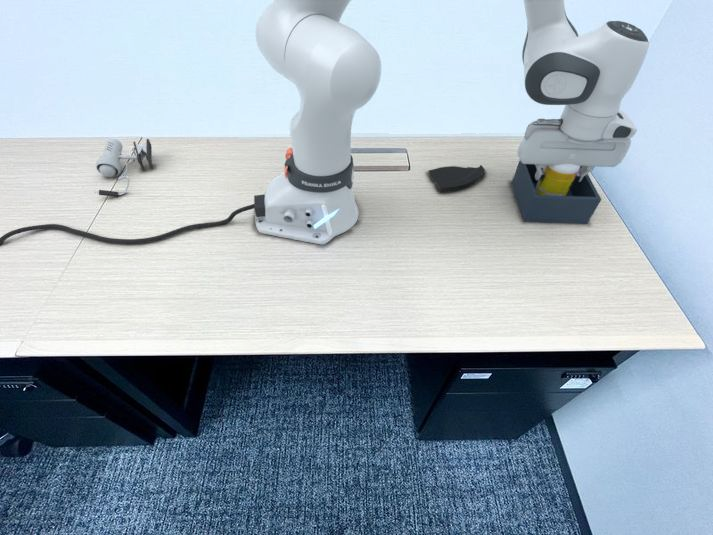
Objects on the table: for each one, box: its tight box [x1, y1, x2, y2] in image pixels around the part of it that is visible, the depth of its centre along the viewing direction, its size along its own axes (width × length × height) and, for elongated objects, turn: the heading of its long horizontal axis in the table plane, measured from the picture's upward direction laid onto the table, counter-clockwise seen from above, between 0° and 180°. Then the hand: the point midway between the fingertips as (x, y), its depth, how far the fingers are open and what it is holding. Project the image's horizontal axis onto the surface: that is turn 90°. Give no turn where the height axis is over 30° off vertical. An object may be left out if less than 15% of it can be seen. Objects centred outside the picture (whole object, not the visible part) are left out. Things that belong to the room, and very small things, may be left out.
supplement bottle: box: [535, 154, 580, 196], centre depth 86 cm, size 7×7×13 cm
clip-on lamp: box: [94, 138, 154, 198], centre depth 95 cm, size 12×6×18 cm
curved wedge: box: [428, 164, 486, 194], centre depth 96 cm, size 8×14×2 cm, turn 103°
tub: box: [511, 160, 602, 225], centre depth 88 cm, size 14×14×7 cm
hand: (557, 179), depth 86 cm, fingers closed on supplement bottle, 6 cm apart
